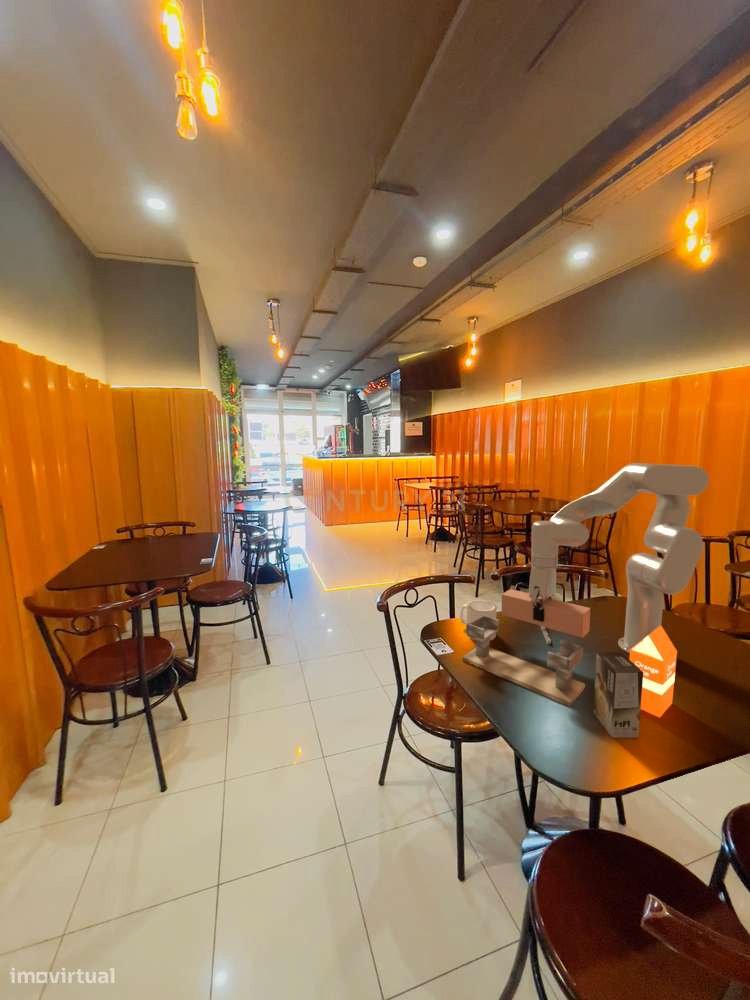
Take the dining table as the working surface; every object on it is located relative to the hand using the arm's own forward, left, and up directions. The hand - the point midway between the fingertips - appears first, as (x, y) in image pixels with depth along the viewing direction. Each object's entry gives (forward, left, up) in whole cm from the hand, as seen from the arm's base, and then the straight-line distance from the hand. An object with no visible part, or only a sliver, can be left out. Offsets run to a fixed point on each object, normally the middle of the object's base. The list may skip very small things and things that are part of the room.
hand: (543, 616), depth 126 cm
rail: (0, 0, -2) cm, 2 cm away
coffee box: (-26, +19, -13) cm, 35 cm away
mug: (+22, 0, -13) cm, 26 cm away
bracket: (+8, -17, -13) cm, 23 cm away
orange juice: (-30, +4, -13) cm, 33 cm away
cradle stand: (0, +14, -13) cm, 19 cm away
